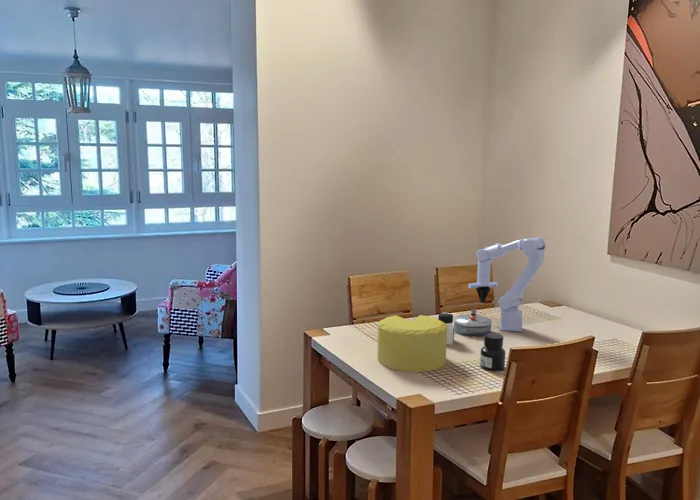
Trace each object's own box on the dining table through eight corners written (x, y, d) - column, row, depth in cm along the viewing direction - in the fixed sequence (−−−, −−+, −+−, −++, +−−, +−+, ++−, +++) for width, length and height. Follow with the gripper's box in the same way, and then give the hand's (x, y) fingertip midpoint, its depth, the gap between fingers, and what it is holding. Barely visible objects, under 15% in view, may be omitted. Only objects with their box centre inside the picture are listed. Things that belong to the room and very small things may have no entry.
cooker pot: (490, 338, 257) (491, 329, 257) (453, 335, 261) (453, 326, 260) (490, 325, 277) (490, 316, 277) (455, 322, 281) (455, 314, 280)
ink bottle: (476, 362, 226) (478, 332, 224) (499, 362, 227) (501, 331, 225) (484, 372, 217) (485, 340, 215) (508, 371, 217) (509, 339, 215)
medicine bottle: (453, 344, 248) (454, 316, 246) (435, 343, 249) (436, 315, 247) (453, 339, 254) (454, 312, 253) (436, 338, 256) (437, 311, 254)
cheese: (402, 344, 247) (403, 309, 245) (458, 358, 231) (460, 321, 228) (363, 360, 227) (364, 322, 225) (421, 377, 211) (423, 336, 208)
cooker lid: (491, 328, 256) (491, 322, 256) (452, 325, 260) (452, 319, 260) (492, 315, 278) (492, 309, 277) (456, 312, 281) (456, 307, 281)
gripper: (492, 271, 285) (491, 299, 287) (465, 273, 280) (464, 301, 282) (500, 274, 278) (499, 303, 280) (473, 276, 274) (471, 305, 276)
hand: (482, 302), depth 281 cm, fingers closed
